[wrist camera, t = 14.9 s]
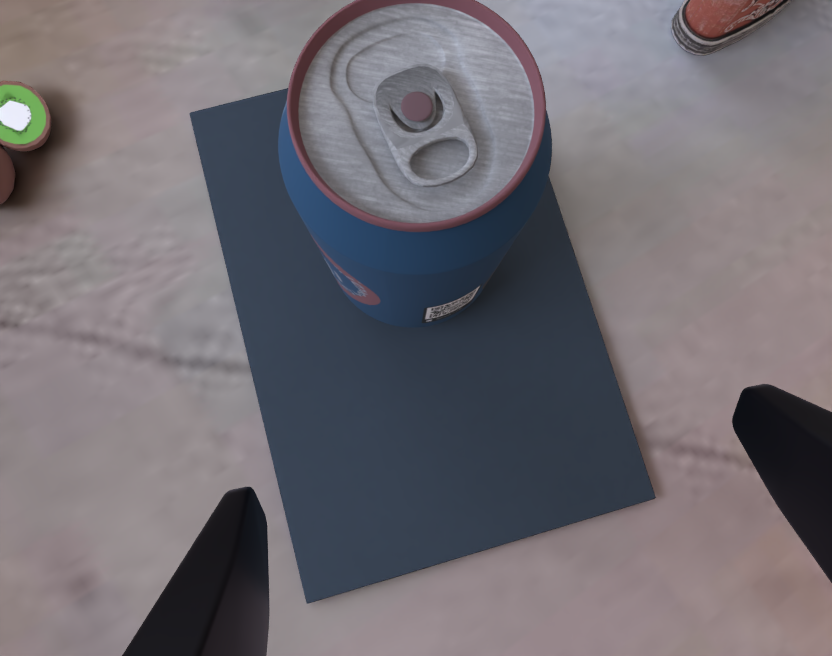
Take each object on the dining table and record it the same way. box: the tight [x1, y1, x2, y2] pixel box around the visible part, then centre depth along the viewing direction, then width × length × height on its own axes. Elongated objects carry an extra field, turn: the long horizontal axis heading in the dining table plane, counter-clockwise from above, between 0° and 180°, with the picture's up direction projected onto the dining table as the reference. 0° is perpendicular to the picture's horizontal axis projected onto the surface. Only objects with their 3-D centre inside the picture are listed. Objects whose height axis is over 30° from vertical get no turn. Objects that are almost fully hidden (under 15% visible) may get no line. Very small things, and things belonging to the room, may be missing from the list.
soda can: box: [278, 0, 552, 328], centre depth 18 cm, size 7×7×12 cm
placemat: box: [190, 88, 656, 603], centre depth 23 cm, size 22×15×1 cm
